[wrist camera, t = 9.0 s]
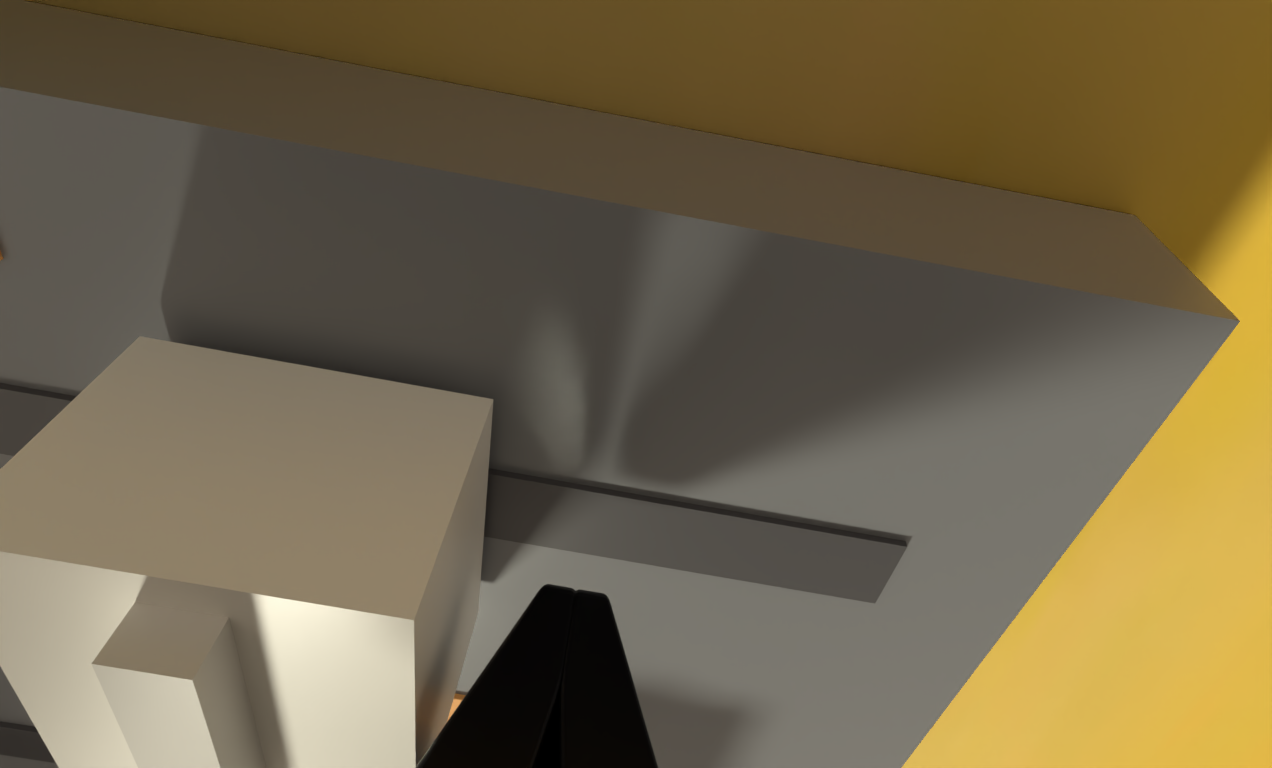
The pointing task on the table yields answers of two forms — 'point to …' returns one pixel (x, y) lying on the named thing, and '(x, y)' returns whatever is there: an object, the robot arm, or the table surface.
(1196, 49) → the table surface
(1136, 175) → the table surface
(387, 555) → the tab
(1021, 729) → the table surface
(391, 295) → the switch panel
